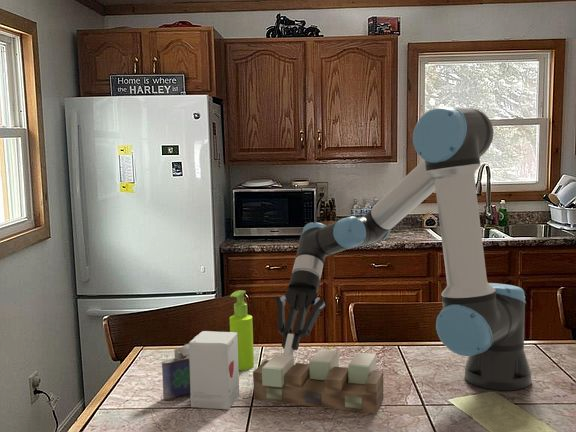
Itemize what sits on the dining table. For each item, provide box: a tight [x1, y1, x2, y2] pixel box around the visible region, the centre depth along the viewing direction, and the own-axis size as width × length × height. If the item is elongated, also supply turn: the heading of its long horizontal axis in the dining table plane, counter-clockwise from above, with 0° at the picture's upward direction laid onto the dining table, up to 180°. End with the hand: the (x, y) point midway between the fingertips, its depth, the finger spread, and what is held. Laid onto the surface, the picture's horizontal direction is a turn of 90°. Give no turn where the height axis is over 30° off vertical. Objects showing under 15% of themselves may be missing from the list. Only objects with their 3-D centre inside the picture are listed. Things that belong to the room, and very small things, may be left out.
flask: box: [161, 349, 191, 402], centre depth 148 cm, size 9×3×11 cm, turn 121°
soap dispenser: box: [229, 289, 255, 371], centre depth 165 cm, size 6×7×20 cm
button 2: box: [347, 352, 377, 384], centre depth 146 cm, size 4×9×4 cm, turn 161°
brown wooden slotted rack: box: [252, 359, 384, 415], centre depth 144 cm, size 28×8×6 cm, turn 71°
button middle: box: [308, 348, 340, 380], centre depth 149 cm, size 4×9×4 cm, turn 161°
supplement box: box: [188, 330, 240, 410], centre depth 144 cm, size 9×9×15 cm
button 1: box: [262, 354, 295, 387], centre depth 145 cm, size 4×9×4 cm, turn 161°
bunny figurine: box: [173, 343, 189, 358], centre depth 169 cm, size 10×5×15 cm
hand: (286, 361), depth 151 cm, fingers closed
